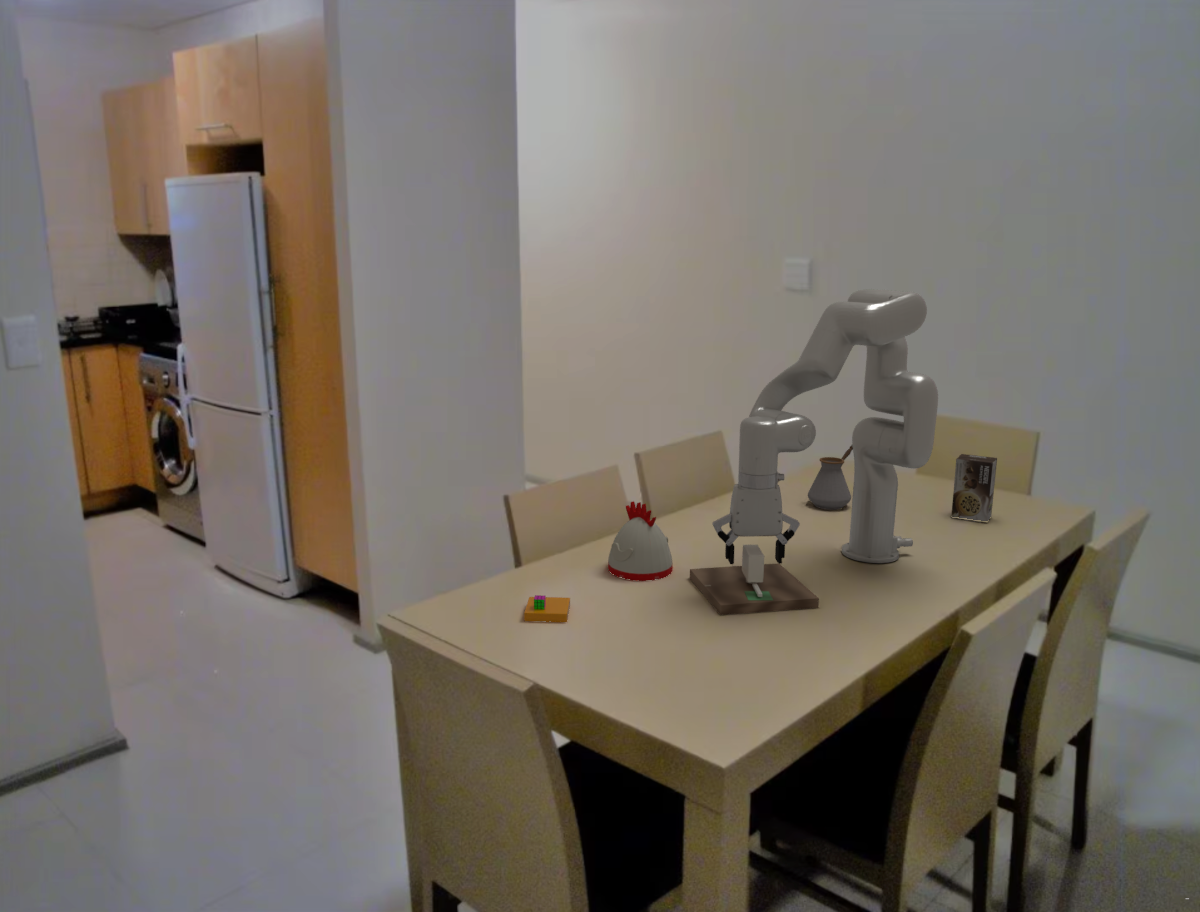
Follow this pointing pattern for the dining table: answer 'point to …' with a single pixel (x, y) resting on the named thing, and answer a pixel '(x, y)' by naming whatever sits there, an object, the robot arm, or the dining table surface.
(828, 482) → the coffee pot
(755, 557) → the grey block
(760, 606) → the dial board
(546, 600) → the orange block with cube
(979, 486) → the coffee box
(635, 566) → the chicken figurine
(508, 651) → the dining table surface
